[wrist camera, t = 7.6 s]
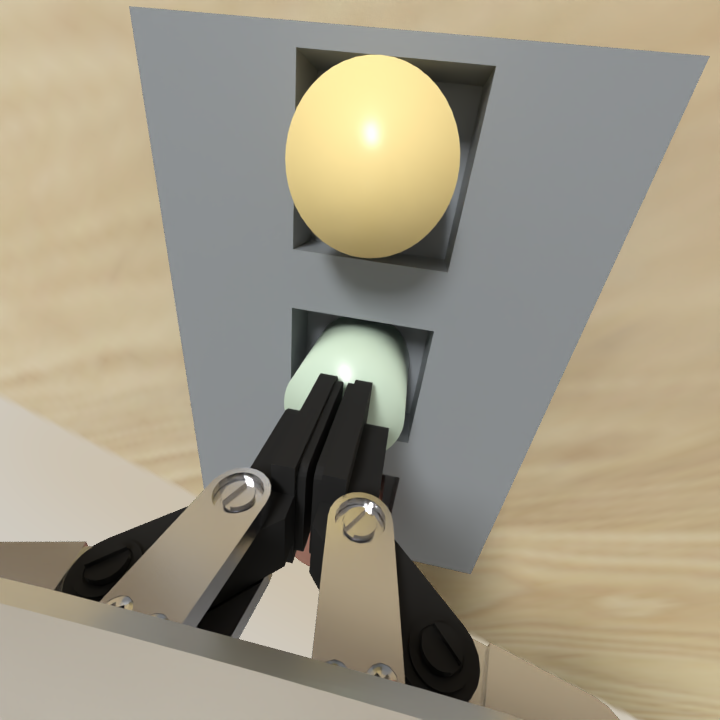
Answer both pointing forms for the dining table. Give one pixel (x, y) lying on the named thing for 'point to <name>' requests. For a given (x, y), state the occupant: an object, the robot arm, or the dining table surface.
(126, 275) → the dining table surface
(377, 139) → the button ochre
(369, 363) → the button sage
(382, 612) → the robot arm
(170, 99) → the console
